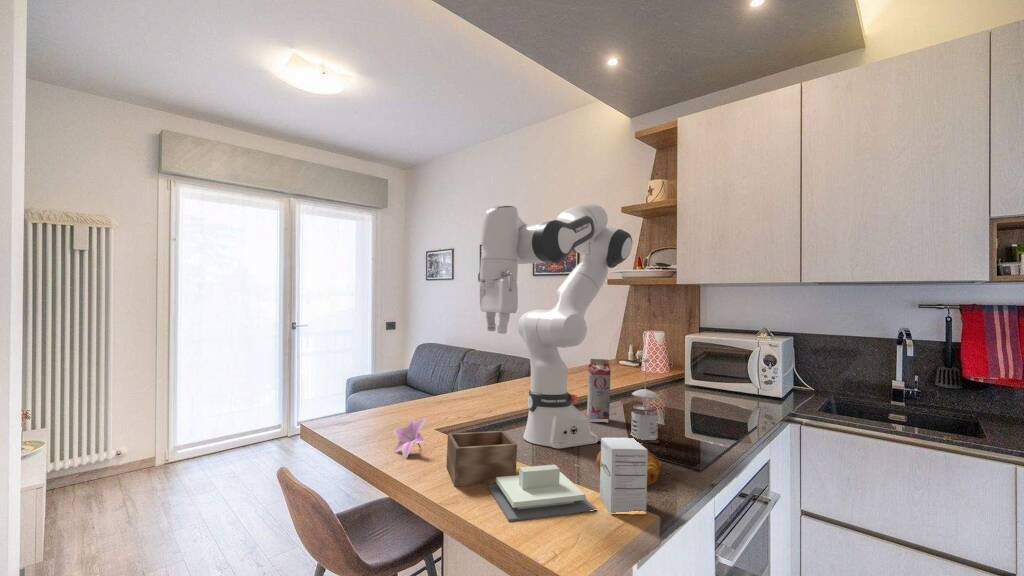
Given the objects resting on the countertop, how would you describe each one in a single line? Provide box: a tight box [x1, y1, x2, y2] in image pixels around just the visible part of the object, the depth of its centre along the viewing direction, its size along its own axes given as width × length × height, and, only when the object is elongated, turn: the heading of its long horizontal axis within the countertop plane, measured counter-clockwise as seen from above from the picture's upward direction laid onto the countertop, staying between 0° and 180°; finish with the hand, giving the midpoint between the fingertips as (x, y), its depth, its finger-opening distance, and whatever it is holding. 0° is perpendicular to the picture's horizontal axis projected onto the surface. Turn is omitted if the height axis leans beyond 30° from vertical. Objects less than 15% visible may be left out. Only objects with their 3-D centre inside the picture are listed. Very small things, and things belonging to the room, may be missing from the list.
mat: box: [487, 484, 598, 522], centre depth 86 cm, size 18×15×1 cm
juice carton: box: [586, 358, 611, 420], centre depth 151 cm, size 7×7×22 cm
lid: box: [496, 464, 586, 510], centre depth 86 cm, size 15×12×6 cm
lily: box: [393, 416, 427, 460], centre depth 110 cm, size 11×11×9 cm
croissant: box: [596, 450, 662, 486], centre depth 101 cm, size 14×16×8 cm
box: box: [445, 430, 518, 487], centre depth 97 cm, size 14×11×8 cm
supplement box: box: [599, 437, 649, 513], centre depth 84 cm, size 7×7×13 cm
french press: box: [630, 358, 660, 440], centre depth 131 cm, size 10×12×25 cm
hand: (496, 332), depth 98 cm, fingers open, 8 cm apart
